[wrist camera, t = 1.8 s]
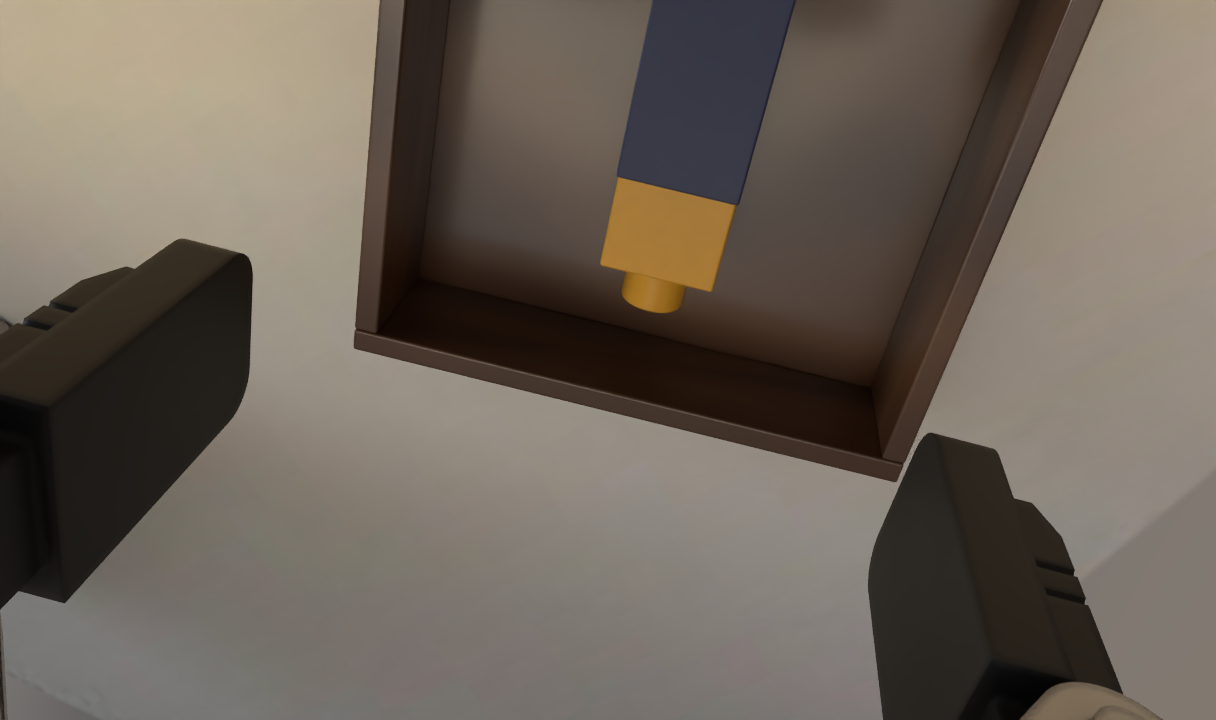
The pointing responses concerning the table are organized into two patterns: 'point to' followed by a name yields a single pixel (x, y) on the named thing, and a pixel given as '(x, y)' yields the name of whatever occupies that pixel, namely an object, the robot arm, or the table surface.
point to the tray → (760, 230)
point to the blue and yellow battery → (690, 142)
